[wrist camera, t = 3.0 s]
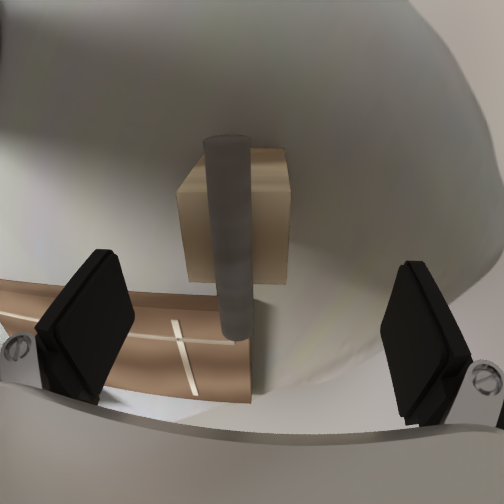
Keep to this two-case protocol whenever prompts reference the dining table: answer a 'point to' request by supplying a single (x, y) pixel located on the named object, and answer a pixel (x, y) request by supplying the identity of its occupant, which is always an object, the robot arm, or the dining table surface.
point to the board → (155, 343)
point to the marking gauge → (236, 225)
